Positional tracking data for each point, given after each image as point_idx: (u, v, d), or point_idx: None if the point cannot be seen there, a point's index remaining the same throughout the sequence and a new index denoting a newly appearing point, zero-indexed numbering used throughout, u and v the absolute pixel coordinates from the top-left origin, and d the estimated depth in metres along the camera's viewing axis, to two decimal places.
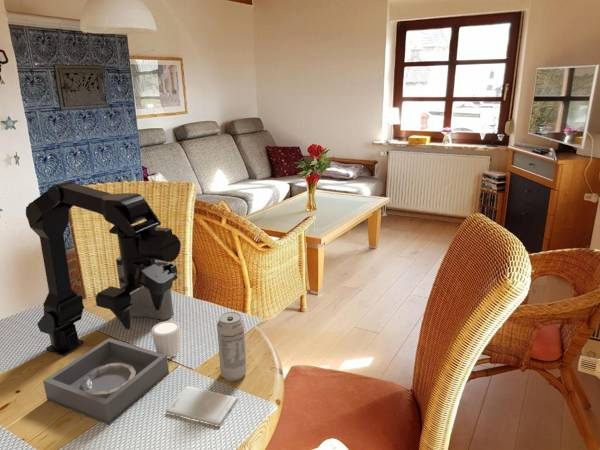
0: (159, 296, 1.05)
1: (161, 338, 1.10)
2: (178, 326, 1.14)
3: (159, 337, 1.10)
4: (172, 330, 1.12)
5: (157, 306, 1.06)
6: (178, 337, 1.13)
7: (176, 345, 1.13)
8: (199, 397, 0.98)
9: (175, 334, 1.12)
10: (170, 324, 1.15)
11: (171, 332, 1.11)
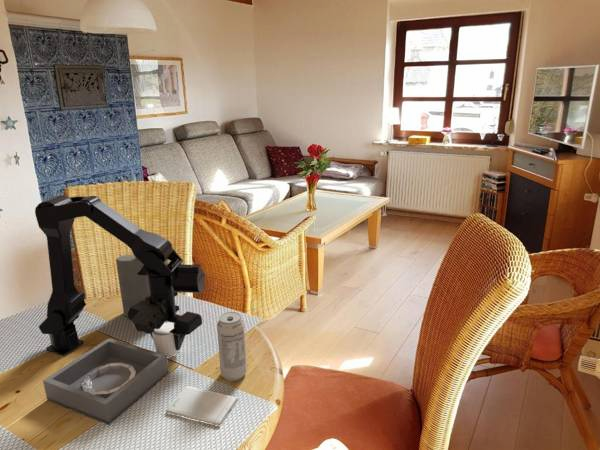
0: None
1: (161, 338, 1.10)
2: None
3: (159, 337, 1.10)
4: None
5: None
6: None
7: None
8: (199, 397, 0.98)
9: None
10: (170, 324, 1.15)
11: None
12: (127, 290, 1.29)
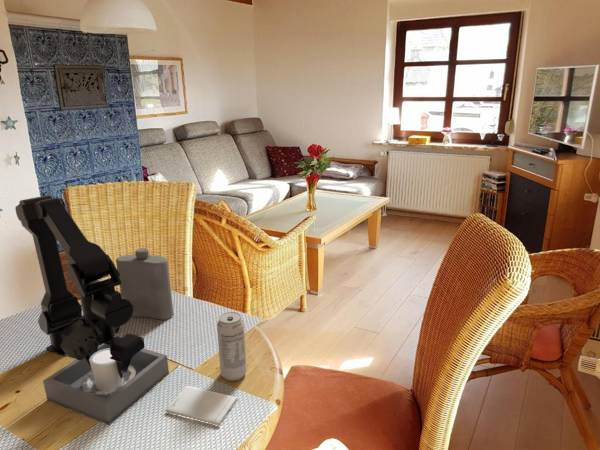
0: None
1: (99, 369, 0.98)
2: None
3: (97, 367, 0.98)
4: None
5: None
6: None
7: (117, 376, 1.00)
8: (199, 397, 0.98)
9: None
10: None
11: (111, 362, 0.99)
12: (127, 290, 1.29)
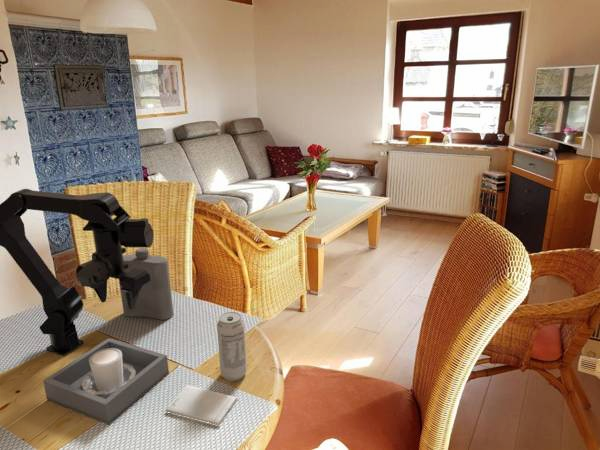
0: None
1: (98, 369, 0.98)
2: (120, 355, 1.01)
3: (96, 368, 0.98)
4: (112, 360, 0.99)
5: None
6: (119, 367, 1.01)
7: (117, 376, 1.00)
8: (199, 396, 0.98)
9: (115, 364, 0.99)
10: (111, 352, 1.02)
11: (110, 362, 0.99)
12: None
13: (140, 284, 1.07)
